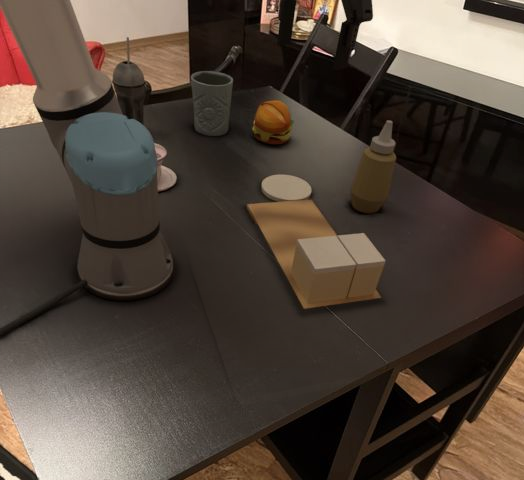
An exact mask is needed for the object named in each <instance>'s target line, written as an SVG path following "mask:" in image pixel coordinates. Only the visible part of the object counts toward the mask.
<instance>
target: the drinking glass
mask: <svg viewBox="0 0 524 480" xmlns="http://www.w3.org/2000/svg"><path fill="white" fill-rule="evenodd" d="M190 83H191V92H192V105H193V107H192V108H193V119H194V120H193V123H194V124H193V125H194V130H195V131H196V132H197V133H199V134H201V135H203V136H208V137H220V136H223V135H225V134H227V133H228V131H229V122H230V114H231V112H230V110H231V105H232V95H233V94H232V93H233V86H234V85H233V84H234V79H233V77H232V76H231V75H228V74H226V73H223V72H219V71H212V70H203V71H197V72H194V73H192V74H191V76H190Z"/></svg>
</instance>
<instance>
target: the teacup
mask: <svg viewBox="0 0 524 480" xmlns="http://www.w3.org/2000/svg"><path fill="white" fill-rule="evenodd" d="M154 145H155V150H156V154H157V161H158V165H157V184H158V193H159V192H162V191H166V190H169V189H170V188H172V187H174V186H175V184H176V183H177V179H178V177H177V174H176V172H174V171H173V170H172V169H171V168H169V167H166V166H165V165H162V164H163V163H164V160H165V159H166V158H167V153H168V152H167V149H166V148H165V147H164V146H163V145H161V144H159V143H155V142H154Z"/></svg>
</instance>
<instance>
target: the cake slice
mask: <svg viewBox="0 0 524 480" xmlns="http://www.w3.org/2000/svg"><path fill="white" fill-rule="evenodd" d="M337 238H338V240H339V241H340V242H341V244H342V245H343V247H344V248H345V249H346V251H347V252H348V254H349V255H350V256H351V258H352V259H353V261H354V262H355V263H356V267H355V270H354V273H353V277H352V280H351V283H350V286H349V290H348V293H347V298H351V297H359V296H366V295H373V294H374V293H375V290H377V286H378V285H379V281H380V278H381V275H382V272H383V270H384V267H385V264H386V259H385V258H384V256H383V255H382V254H381V253H380V251H378V249H377V248H376V247H375V245H374V244H373V243H372V241H371V240H370V239H369V237H368V236H367V234H366V233H364V232H361V233H349V234H339V235H337Z"/></svg>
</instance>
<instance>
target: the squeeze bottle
mask: <svg viewBox="0 0 524 480" xmlns="http://www.w3.org/2000/svg"><path fill="white" fill-rule="evenodd" d="M393 124H394V123H393V121H392V120H390V119H389V120H386V121H385V124H383V127H382V129H381V131H380V133H379V135H375V136H373V137H372V138H371V141H370V146H368V147H367V148H365V149H364V151H363V153H362V156H361V159H360V162H359V164H358V167H357V169H356V173H355V175H354V177H353V181H352V183H351V186H350V189H349V190H350V199H351V206H352V208H354V210H356V211H358V212H360V213H364V214H375V213H377V212H379V210H380V209H381V207H382V206H383V205H384V203H385V202H386V201H387V199H388V198H389V194H390V189H391V185H392V184H391V183H392V180H393V175H394V170H395V165H396V161H397V155H396V154H395V152H394V151H395V147H396V143H397V142H396V141H395V140H394V139H393V138H392V134H393Z"/></svg>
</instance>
